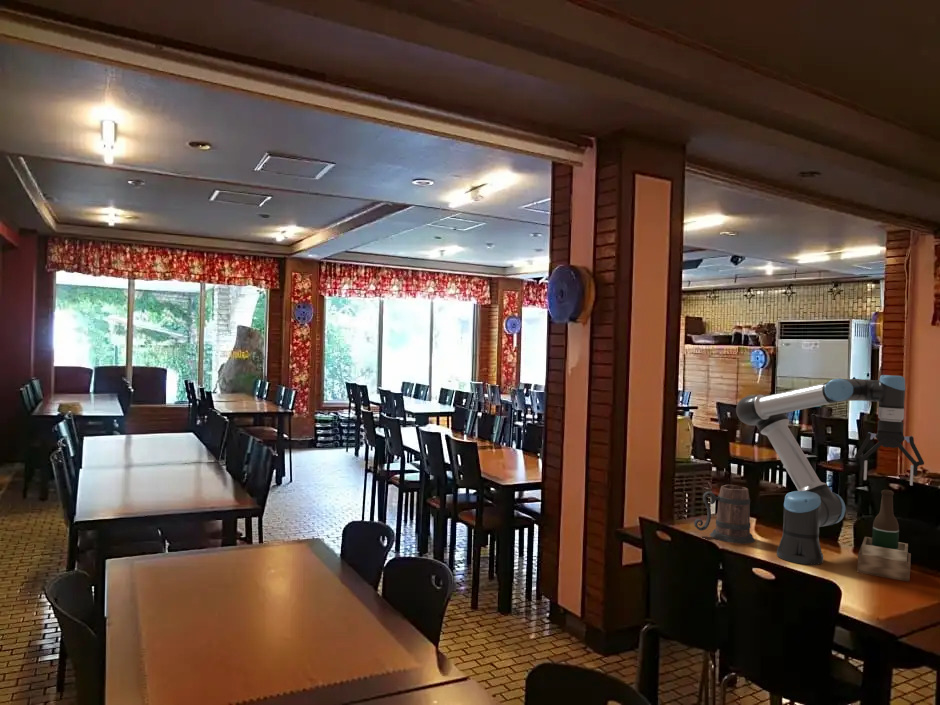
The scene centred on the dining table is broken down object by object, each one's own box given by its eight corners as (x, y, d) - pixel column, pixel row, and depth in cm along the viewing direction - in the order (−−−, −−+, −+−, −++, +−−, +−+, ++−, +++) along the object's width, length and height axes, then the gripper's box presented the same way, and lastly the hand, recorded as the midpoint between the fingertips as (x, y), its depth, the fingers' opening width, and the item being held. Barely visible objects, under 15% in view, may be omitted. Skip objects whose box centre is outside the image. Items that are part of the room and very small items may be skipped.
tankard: (745, 532, 284) (747, 484, 284) (762, 544, 267) (764, 492, 267) (688, 530, 285) (690, 481, 285) (700, 541, 268) (703, 489, 268)
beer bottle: (895, 559, 241) (899, 490, 241) (899, 565, 234) (902, 493, 234) (870, 555, 244) (873, 487, 244) (872, 561, 237) (875, 491, 237)
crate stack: (857, 572, 237) (858, 544, 237) (860, 561, 249) (861, 535, 249) (909, 581, 229) (910, 553, 228) (910, 570, 241) (911, 543, 241)
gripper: (848, 417, 242) (845, 478, 242) (934, 424, 229) (931, 488, 229) (850, 416, 249) (847, 475, 249) (933, 422, 235) (931, 485, 235)
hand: (887, 482), depth 239 cm, fingers open, 13 cm apart
